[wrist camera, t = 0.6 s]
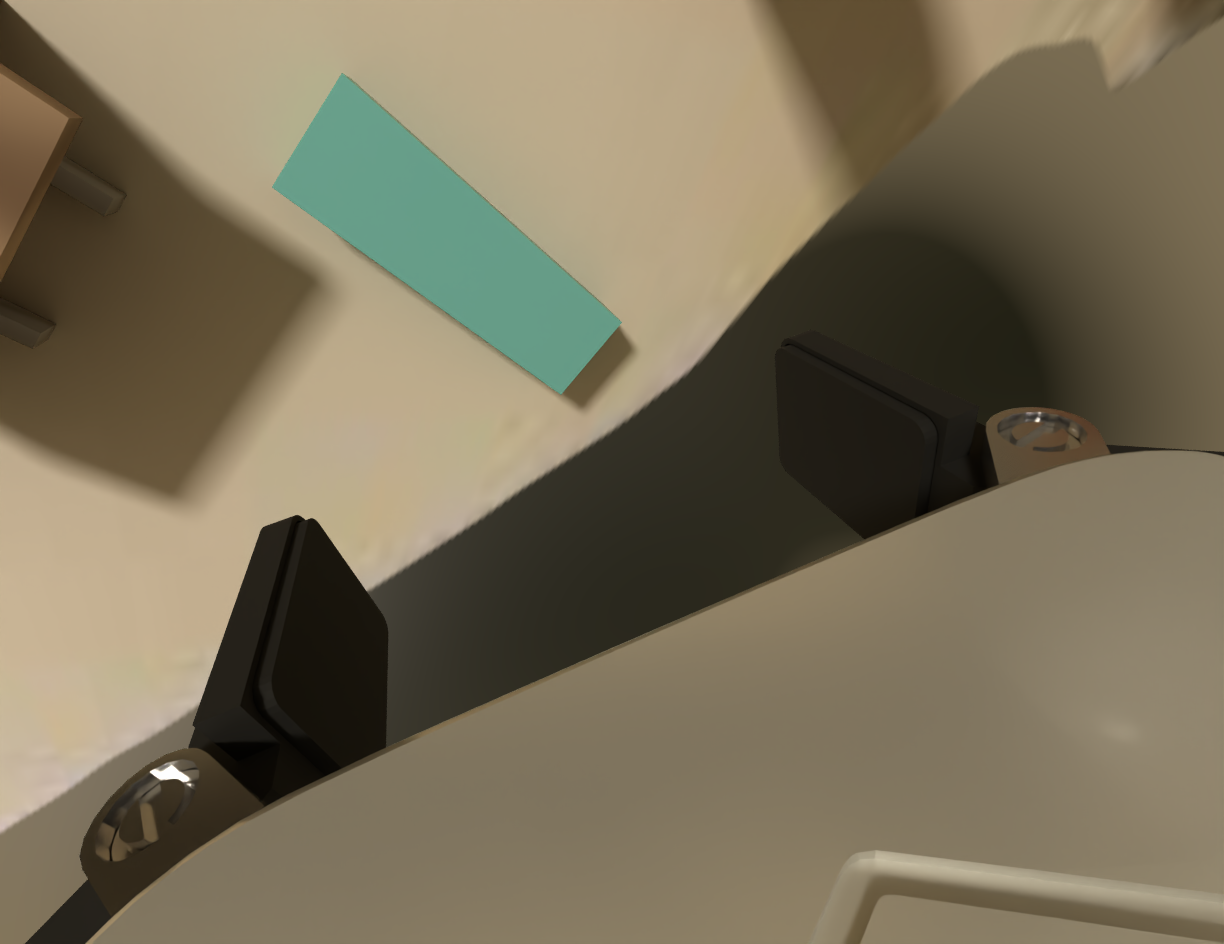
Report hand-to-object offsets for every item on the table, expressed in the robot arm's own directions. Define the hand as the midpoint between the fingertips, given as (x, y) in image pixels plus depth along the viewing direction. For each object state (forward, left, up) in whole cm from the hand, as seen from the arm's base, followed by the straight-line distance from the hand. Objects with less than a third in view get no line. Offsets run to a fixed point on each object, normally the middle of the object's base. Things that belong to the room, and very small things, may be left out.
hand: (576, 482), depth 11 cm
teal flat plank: (+1, 0, -27) cm, 27 cm away
